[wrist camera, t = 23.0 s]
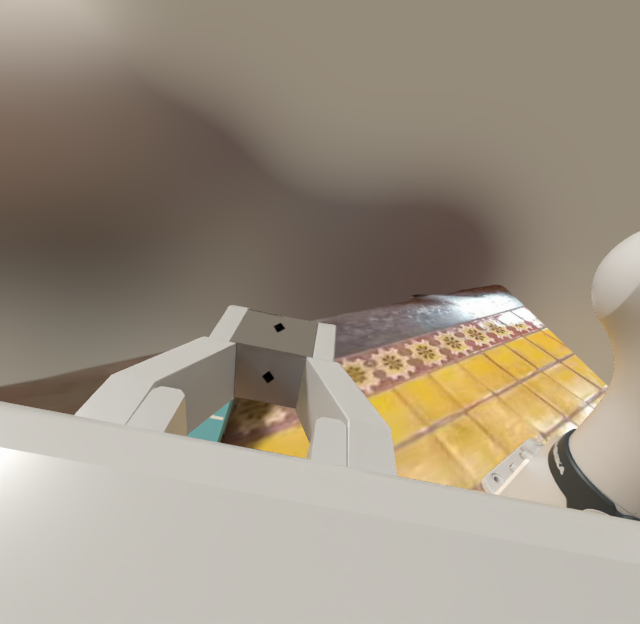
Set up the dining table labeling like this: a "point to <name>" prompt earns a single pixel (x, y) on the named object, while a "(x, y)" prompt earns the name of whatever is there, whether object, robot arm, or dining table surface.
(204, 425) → the teal domino
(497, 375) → the dining table surface
